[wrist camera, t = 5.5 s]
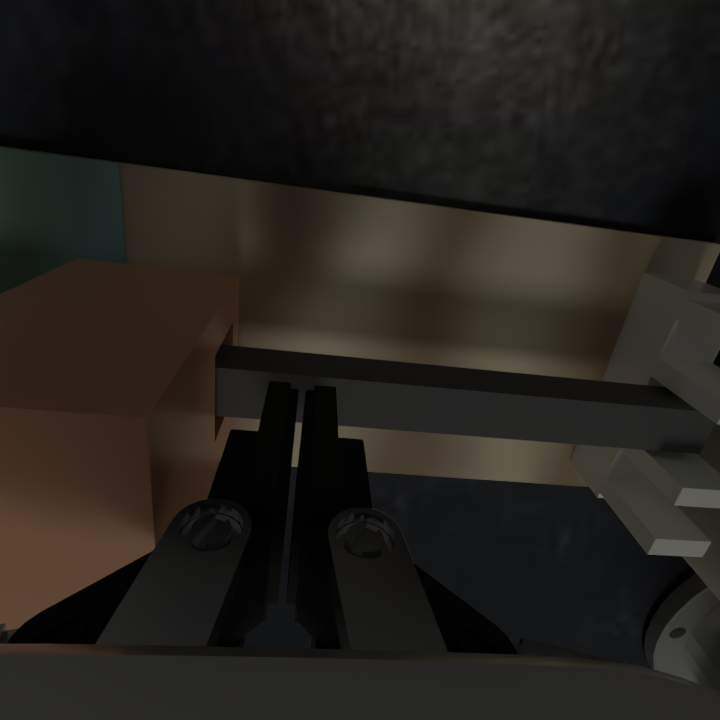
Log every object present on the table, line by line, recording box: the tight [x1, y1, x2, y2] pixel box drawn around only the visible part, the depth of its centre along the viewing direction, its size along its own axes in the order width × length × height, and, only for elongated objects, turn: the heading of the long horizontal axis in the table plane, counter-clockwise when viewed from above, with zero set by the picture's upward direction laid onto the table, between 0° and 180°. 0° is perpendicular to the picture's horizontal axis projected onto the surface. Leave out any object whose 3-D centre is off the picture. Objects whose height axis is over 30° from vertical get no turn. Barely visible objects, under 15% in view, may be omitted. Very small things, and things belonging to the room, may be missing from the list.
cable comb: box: [570, 273, 720, 557], centre depth 16 cm, size 2×8×6 cm, turn 172°
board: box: [0, 146, 720, 487], centre depth 17 cm, size 33×11×1 cm, turn 82°
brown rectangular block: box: [0, 258, 239, 630], centre depth 12 cm, size 5×5×9 cm
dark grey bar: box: [215, 345, 716, 454], centre depth 14 cm, size 30×2×2 cm, turn 82°
